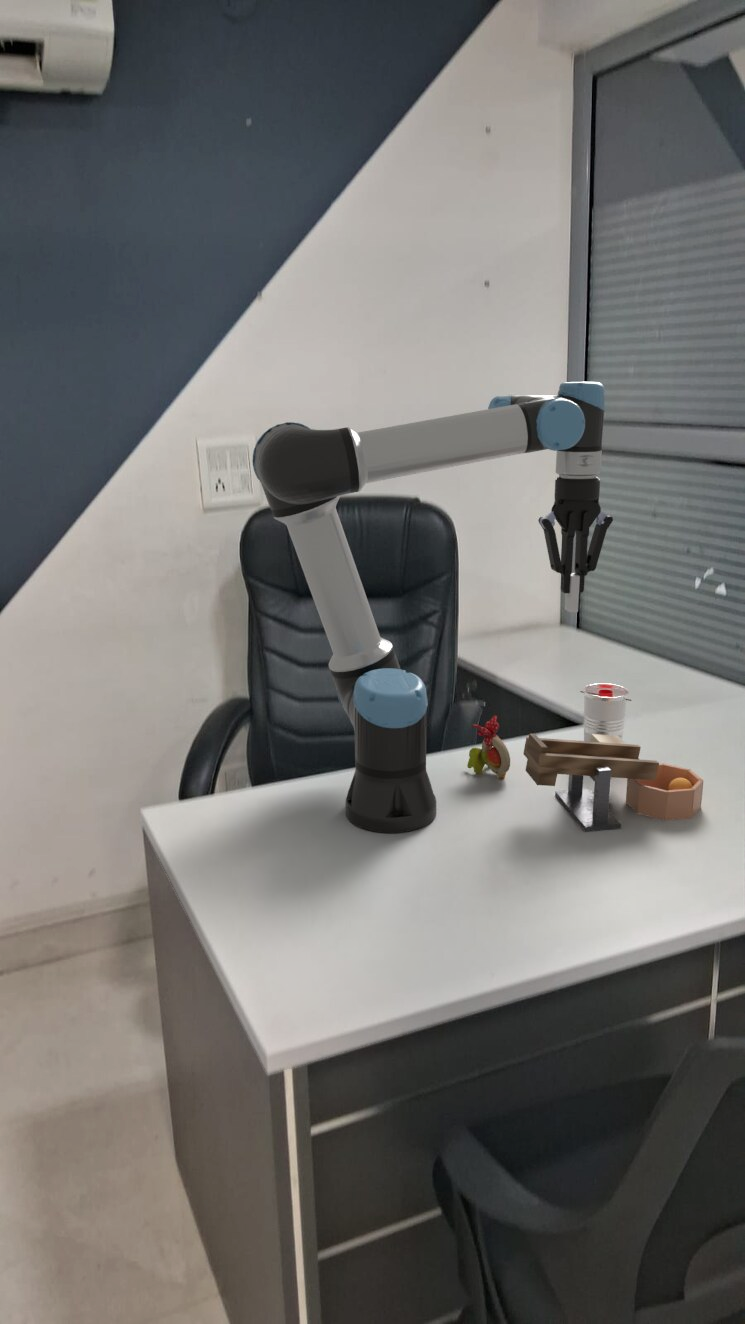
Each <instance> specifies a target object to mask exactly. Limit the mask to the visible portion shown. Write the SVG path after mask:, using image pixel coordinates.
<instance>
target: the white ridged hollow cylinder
mask: <svg viewBox="0 0 745 1324" xmlns="http://www.w3.org/2000/svg"><path fill="white" fill-rule="evenodd" d="M582 690H583V691H581V690H580V693H584V695H583V741H590V737H591V734H599V735H613V736H618V737H619V738H621V739H622V740H623V735H624V729H625V721H626V711H627V701H631V702H632V699H629V698H628V695H629V693H630V691H629V689H628V688H626V687H624V686H621V685H618V684H614V683H600V682H599V683H591V684H588V685H585V686H584V687H583V688H582ZM590 742H591V741H590Z"/></svg>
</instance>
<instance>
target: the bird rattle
mask: <svg viewBox="0 0 745 1324" xmlns="http://www.w3.org/2000/svg"><path fill="white" fill-rule="evenodd" d="M497 719H498V716H497V715H493V716H492V717H491V718H490V720H488V721H486V723H485V726H484V727H483V726H480V725H478V724H475V723H473V724H472V727H473V728H476V729H478V730H477V735H478V736H479V737H483V741H482V742H481V743H482V744H481V748H479V747H472V748H471V749H470V750H469V754H468V757H469V759H468V761H467V765H466V766H467V768H468V769H471V768H473V772H474V773H475V774H477V775H478V774H482V772H483V770H484V766H485V765H486V766H487V768H488V769H489V770H490V771H491V772H493V773H494V774H495V775H496V776H497V777H498V778H499V779H503V778H505V777H506V774H507V773H508V771H509V770H510V767H511V756H510V752H509V750H508V748H507V745H506V744H505V743H504V741H503V740H502V739H501V738H500V737H499V735H497V734H496V733H497V732H498V730H499V728H500V725H499V723H498V722H497Z"/></svg>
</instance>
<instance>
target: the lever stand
mask: <svg viewBox="0 0 745 1324" xmlns="http://www.w3.org/2000/svg"><path fill="white" fill-rule="evenodd" d="M611 779H612V777H611V769H610V768H609V767H608V766H605V767H595V782H593V783H594V786H593V792H592V790H590V788H583V786H584V776H581V775H568V782H567V783H568V784H567V785H568V786H567V790H555V791H554V792H555V794H554V795H555V797H556V799H557V800H559V802H560V803H561V805H562V806H563V807H564V808H565V809H566V810H567V812H568V813H569V814H570V815H571V817H572V818H573V819H574V820H575V821H576V823H577V824H578V825H579V826H580V827H581V829H583V831H584V832H585V833H588V832H589V833H590V832H598V831H599V832H600V831H610V830H617V829H618V830H620V829H622V823H621V822H620V821H619V819H618V818H616V816H615V815H614V814H613V813H612V812H611V811H610V810H609V808H610V806H609V805H610V792H611V790H610V789H611Z"/></svg>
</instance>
